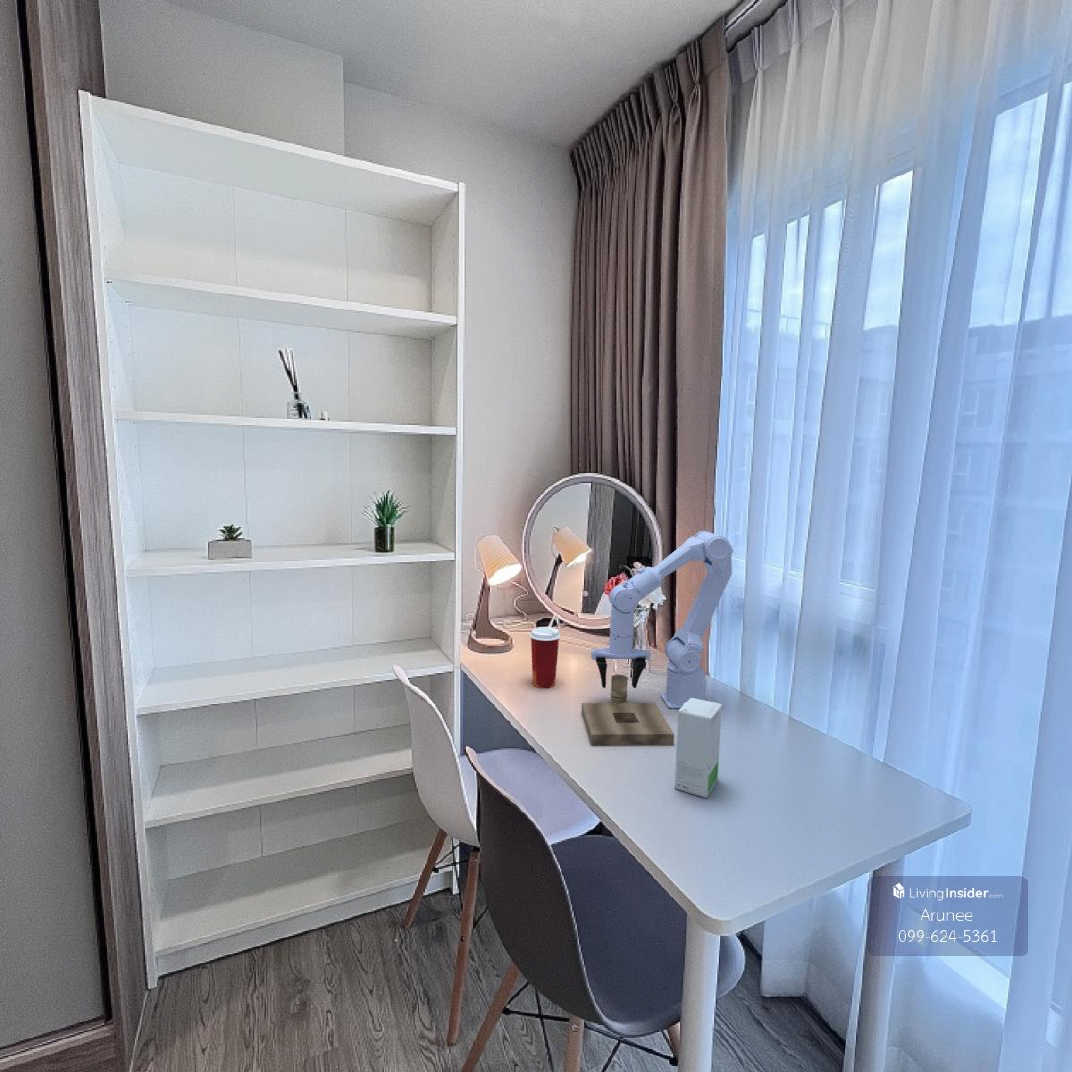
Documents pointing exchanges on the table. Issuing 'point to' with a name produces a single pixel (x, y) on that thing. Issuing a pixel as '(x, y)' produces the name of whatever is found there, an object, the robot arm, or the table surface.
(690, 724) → the skincare box
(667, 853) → the table surface
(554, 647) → the coffee cup
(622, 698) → the peg
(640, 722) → the board
